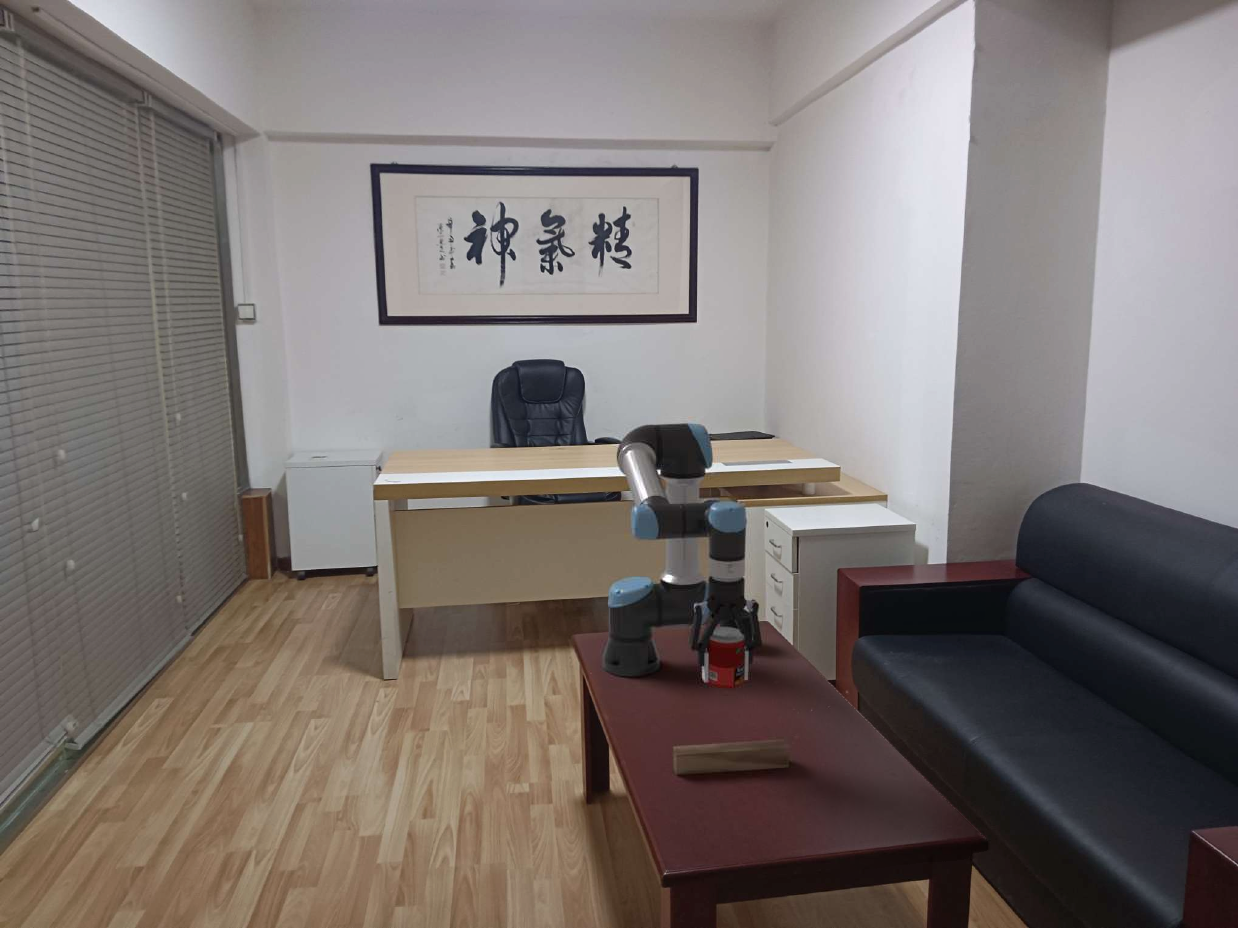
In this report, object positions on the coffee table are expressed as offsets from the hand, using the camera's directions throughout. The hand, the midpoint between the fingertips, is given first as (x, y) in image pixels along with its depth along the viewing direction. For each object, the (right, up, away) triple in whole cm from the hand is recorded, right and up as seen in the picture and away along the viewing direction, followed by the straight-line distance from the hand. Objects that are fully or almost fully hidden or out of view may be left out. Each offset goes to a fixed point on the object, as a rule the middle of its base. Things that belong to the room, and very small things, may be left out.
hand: (724, 678), depth 191 cm
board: (+1, -18, -3) cm, 18 cm away
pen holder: (+10, -6, +60) cm, 61 cm away
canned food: (0, -1, 0) cm, 1 cm away
